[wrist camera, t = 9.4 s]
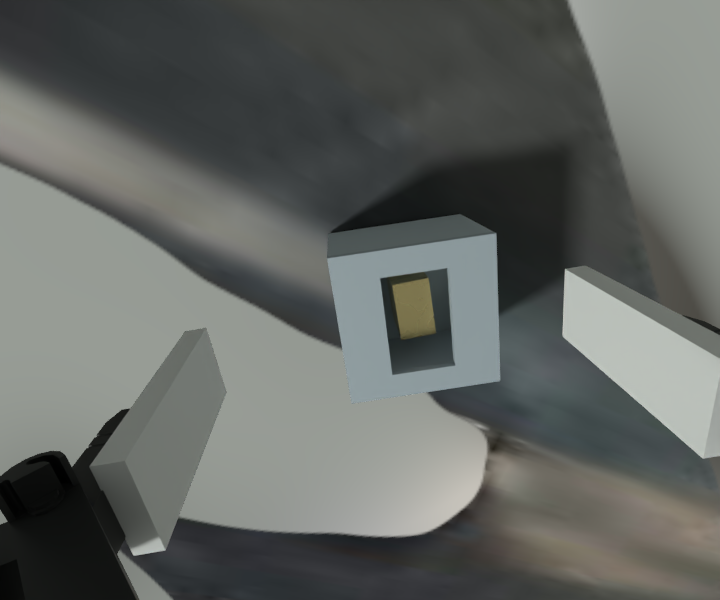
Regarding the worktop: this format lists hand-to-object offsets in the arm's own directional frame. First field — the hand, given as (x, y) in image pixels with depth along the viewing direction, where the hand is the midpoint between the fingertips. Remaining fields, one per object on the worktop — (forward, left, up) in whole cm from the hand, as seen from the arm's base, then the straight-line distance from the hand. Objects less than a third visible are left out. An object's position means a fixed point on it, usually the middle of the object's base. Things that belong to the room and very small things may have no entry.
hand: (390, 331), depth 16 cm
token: (+7, +4, -23) cm, 25 cm away
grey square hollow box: (+7, +3, -24) cm, 25 cm away
